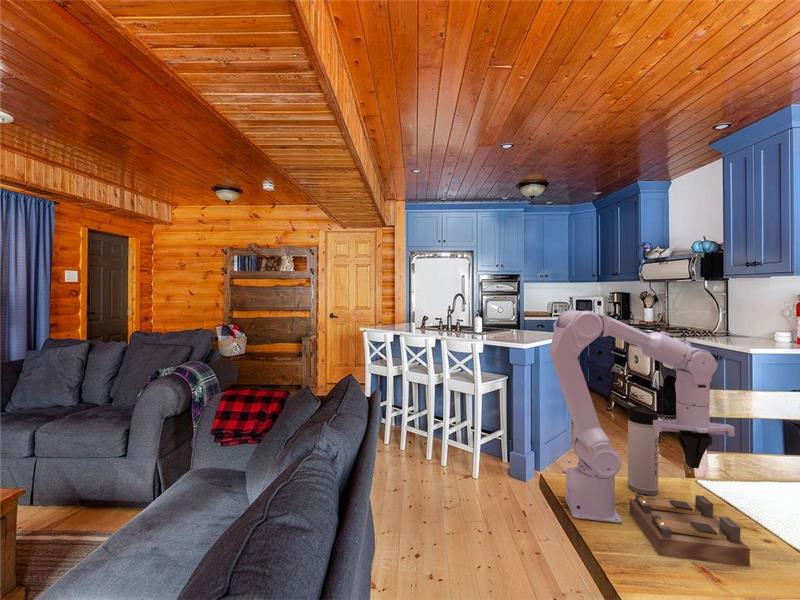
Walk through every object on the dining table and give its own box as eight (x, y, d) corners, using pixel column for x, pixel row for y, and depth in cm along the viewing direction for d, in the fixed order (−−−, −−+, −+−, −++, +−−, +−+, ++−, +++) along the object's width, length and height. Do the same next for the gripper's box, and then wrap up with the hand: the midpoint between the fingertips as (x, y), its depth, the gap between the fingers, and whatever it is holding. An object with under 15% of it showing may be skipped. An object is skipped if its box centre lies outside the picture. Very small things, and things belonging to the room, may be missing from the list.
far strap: (642, 507, 78) (643, 501, 78) (637, 501, 81) (637, 494, 81) (700, 517, 76) (701, 510, 76) (693, 509, 78) (694, 503, 78)
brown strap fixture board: (659, 555, 69) (659, 522, 69) (629, 512, 82) (629, 486, 82) (749, 566, 66) (749, 532, 66) (703, 520, 80) (703, 492, 80)
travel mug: (622, 481, 96) (622, 403, 97) (651, 484, 95) (651, 404, 95) (632, 494, 90) (632, 410, 90) (663, 497, 89) (663, 411, 89)
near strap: (660, 530, 70) (661, 523, 70) (654, 522, 73) (654, 515, 73) (726, 541, 68) (727, 534, 68) (717, 533, 71) (718, 525, 71)
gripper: (663, 406, 79) (663, 471, 79) (744, 410, 76) (744, 478, 76) (648, 397, 86) (648, 457, 86) (722, 401, 83) (722, 463, 83)
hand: (692, 466), depth 82 cm, fingers closed
